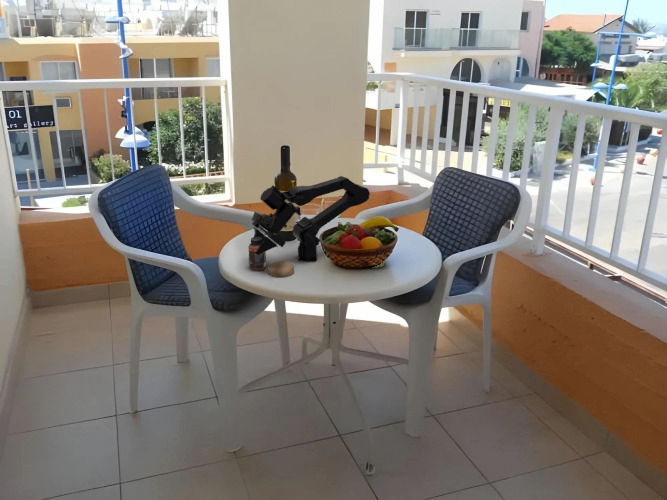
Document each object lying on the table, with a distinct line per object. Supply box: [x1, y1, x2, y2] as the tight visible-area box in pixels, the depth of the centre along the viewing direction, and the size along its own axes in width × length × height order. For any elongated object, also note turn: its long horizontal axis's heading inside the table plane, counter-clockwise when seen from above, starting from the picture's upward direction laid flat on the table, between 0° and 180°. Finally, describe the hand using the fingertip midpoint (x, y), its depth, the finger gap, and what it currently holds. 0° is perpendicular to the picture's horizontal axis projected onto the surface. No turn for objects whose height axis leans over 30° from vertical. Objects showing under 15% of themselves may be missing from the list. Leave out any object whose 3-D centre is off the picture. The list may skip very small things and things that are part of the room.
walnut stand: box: [268, 260, 295, 278], centre depth 203 cm, size 9×9×2 cm
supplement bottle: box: [247, 236, 267, 272], centre depth 205 cm, size 6×6×11 cm
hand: (253, 251), depth 204 cm, fingers closed on supplement bottle, 6 cm apart
